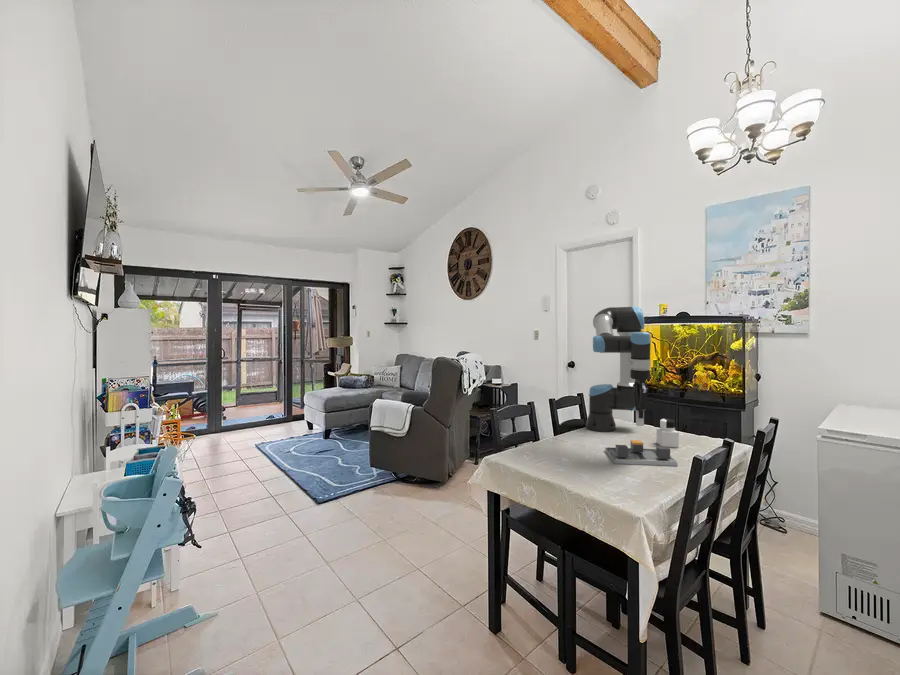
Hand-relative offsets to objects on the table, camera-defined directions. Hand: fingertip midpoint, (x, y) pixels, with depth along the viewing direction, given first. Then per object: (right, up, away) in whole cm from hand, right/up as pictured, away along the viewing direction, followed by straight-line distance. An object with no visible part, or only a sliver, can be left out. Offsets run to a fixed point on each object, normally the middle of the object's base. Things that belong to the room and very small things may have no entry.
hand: (639, 425), depth 170 cm
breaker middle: (+1, -12, +4) cm, 13 cm away
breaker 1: (-8, -12, -2) cm, 15 cm away
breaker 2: (+7, -12, -4) cm, 15 cm away
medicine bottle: (+21, -13, +18) cm, 31 cm away
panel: (0, -14, +1) cm, 14 cm away
